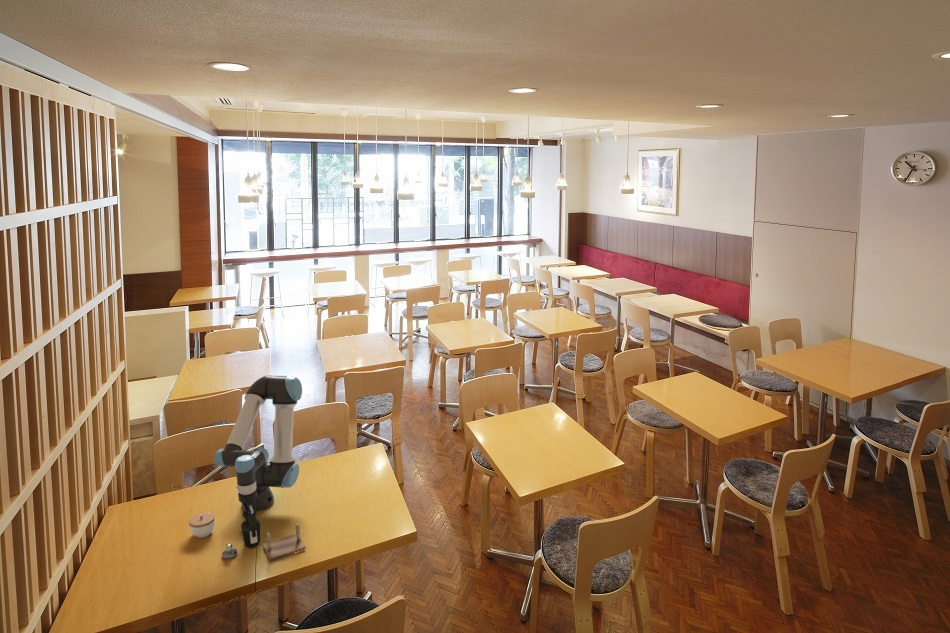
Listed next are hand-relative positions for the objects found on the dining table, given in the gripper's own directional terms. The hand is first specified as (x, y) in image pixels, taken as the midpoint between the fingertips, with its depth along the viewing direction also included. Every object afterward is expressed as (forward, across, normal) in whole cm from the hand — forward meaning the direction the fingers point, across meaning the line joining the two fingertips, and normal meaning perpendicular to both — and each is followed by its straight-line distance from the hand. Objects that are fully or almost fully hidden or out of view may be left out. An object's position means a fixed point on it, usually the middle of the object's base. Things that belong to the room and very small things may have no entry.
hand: (251, 537), depth 257 cm
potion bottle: (+3, 0, 0) cm, 3 cm away
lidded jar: (+4, -20, -17) cm, 26 cm away
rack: (+3, +11, +11) cm, 16 cm away
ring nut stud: (+3, +3, -10) cm, 11 cm away
